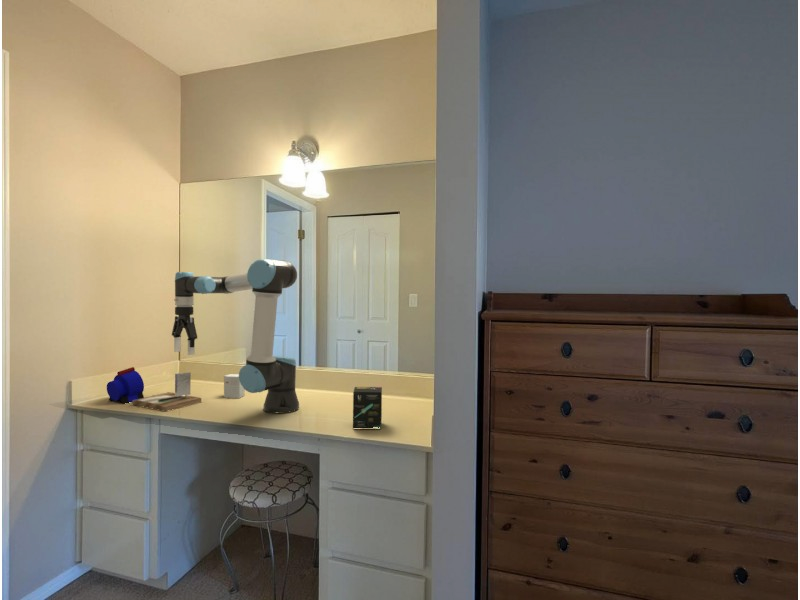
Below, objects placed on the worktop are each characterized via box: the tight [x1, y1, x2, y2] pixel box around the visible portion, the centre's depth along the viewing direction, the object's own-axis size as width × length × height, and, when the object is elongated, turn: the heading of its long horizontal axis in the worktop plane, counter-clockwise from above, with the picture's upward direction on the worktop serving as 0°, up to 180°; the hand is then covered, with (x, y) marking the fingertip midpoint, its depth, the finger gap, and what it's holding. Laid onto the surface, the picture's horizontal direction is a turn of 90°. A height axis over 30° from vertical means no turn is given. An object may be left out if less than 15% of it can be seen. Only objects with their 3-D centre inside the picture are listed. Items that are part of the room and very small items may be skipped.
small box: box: [223, 373, 246, 399], centre depth 219 cm, size 8×6×10 cm
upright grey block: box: [159, 371, 192, 401], centre depth 203 cm, size 13×2×11 cm, turn 140°
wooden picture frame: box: [132, 391, 202, 412], centre depth 204 cm, size 22×18×2 cm
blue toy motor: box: [106, 366, 145, 405], centre depth 207 cm, size 12×12×15 cm
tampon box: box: [352, 386, 383, 429], centre depth 176 cm, size 11×9×15 cm
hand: (184, 353), depth 205 cm, fingers open, 13 cm apart
